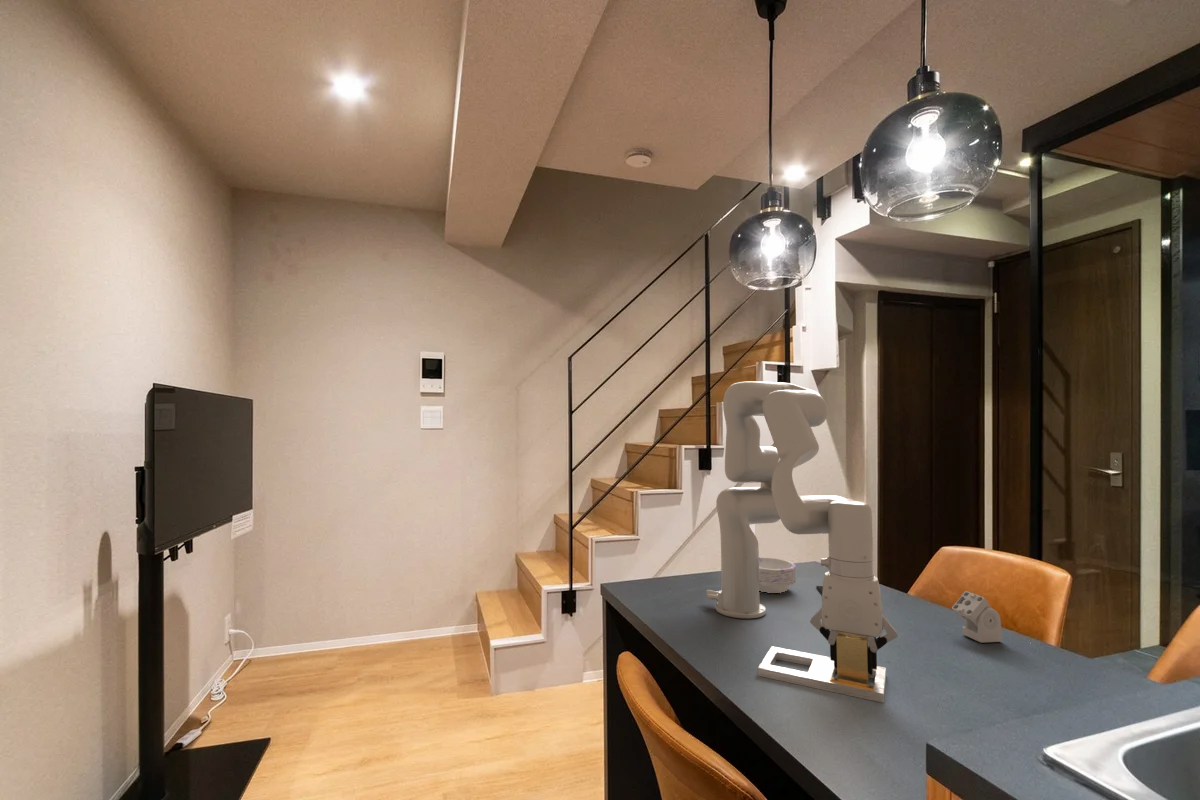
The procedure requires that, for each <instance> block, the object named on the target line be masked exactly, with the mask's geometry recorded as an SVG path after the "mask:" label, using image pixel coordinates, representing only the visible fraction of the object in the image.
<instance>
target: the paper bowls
mask: <svg viewBox="0 0 1200 800" xmlns="http://www.w3.org/2000/svg"><path fill="white" fill-rule="evenodd" d="M796 582H797V566H796V564H795V563H793V562H792V561H789V560H786V559H781V558H778V557H777V558H776V557H770V556H769V557H767V556H765V557H763V556H759V591H762V592H769V593H780V594H782V593H781V592H784V593H786V592H787V591H789V590H788V589H789V588H790V586H792V585H794V584H796ZM785 591H786V592H785Z"/></svg>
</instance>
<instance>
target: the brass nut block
mask: <svg viewBox="0 0 1200 800" xmlns="http://www.w3.org/2000/svg"><path fill="white" fill-rule="evenodd" d="M836 639H837V671H836V672H837V675H836V676H837V677H836V678H838V679H843V680H848V681H853V682H858V683H862V684H867V685H870V684H869V683H870V679H871V678H870V674H869V673H868V647H869V644H868V641H867V638H866V636H862V635H856V634H850V633H844V632H838V634H837V636H836Z"/></svg>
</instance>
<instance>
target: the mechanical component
mask: <svg viewBox="0 0 1200 800" xmlns="http://www.w3.org/2000/svg"><path fill="white" fill-rule="evenodd" d="M951 609H952V610H953V611H954V612H955V613H956V614H957V615H958V616H959V617H960V618H961V619H962V620H963V621H964V623H965V624H964V626H963V625H962V635H964V636H966V637H968V638H970V639H972V640H975V641H977V642H979V643H1002V642H1003V634H1002V624H1001V621H1002V619H1001V616H1000V614H999V612H998V611H997V610H995V609H994V608H992V607H991V606H990V604H989V601H988V600H987V599H986V597H983V596H981V595H979V594H977V593H973V592H970V591H968V590H965V591H964V592H963V593H962V594H961V596H960V597H959V598H958V599H957V601H956V602H955V603H954V604H953V605H952V606H951Z"/></svg>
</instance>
